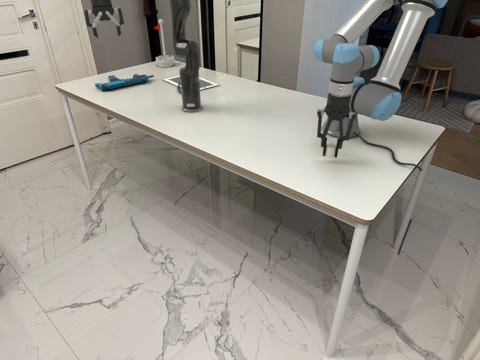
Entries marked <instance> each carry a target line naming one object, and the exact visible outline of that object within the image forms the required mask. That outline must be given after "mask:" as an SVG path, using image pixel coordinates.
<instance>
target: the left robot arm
mask: <svg viewBox="0 0 480 360" xmlns="http://www.w3.org/2000/svg"><path fill="white" fill-rule="evenodd" d="M168 3H169V11H170V18H171V28H172V29H171V30H172V48H173V54H174V57H176V58H177V59H178V60H183V61H185V66H182V67H180V68H179V71H178V72H179V76H180V82H179V84H178V86H177V91H178V93H179V94H180V95H181V102H182V110H183V111H184V112H188V113H195V112H199V111H201V110H202V99H201V90H200V82H199V77H200V68H201V54H200V53H201V52H200V46H199V43H198V41H196V40H195V39H190V38H187V35H186V23H187V21H188V19H189V15H190V12H191V8H192V0H168ZM90 4H91V9H87V8H84V9H83V12H84V18H85V24H86V26H87V27H90V28H91V29H92V34H93V36H94V37H95V38H96V39H99V34H98V30H97V25H98V23H99V21H100V22H103V21H106V22H107V21H109V22H110V21H112V22H113V23H114V24H115V30H116V35H117V37H120V36H121V35H122V30H121V29H122V28H121V25H124V24H125V21H124V20H125V19H124V16H123V15H124V14H123V11H122V9H121V7H119V6H118V7H115V8H114V7H113V2H112V0H90ZM115 13H116V14H117V15H118V18H119V21H118V20H117V19H116V18H115V17H114V16H113V15H114V14H115ZM92 14H93V16H94V19H93V20H92V22H91V21H90V16H91V15H92ZM180 84H181V88H180V87H179V86H180Z"/></svg>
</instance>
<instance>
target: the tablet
mask: <svg viewBox="0 0 480 360" xmlns="http://www.w3.org/2000/svg"><path fill="white" fill-rule="evenodd" d="M162 80H163V81H165V82H166V83H169V84H171V85H173V86H175V87H178V84H179V82H180V75H176V76H172V77H167V78H163V79H162ZM199 82H200V91H204V90H206V89H210V88H214V87H218V86H220V84H219V83H216V82H214V81H210V80H209V79H205V78H202V77H200V76H199ZM179 89H181V84H180V86H179Z"/></svg>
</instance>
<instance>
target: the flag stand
mask: <svg viewBox="0 0 480 360" xmlns="http://www.w3.org/2000/svg"><path fill="white" fill-rule="evenodd" d="M163 24H164V20H163V19H162V18H160V19H158V25H155V26H154V27H153V28H154V29H155V30H157V31H159V32H160V35H161V44H162V51H163V52H162V53H163V55H159V56H156V57H155V62H156V63H157V66H158V67H160V68H170V67H174V66H175V63H174V62H175V61H176V60H175V55H169V54H167V52H166V43H165V35H164V27H163Z"/></svg>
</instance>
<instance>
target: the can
mask: <svg viewBox="0 0 480 360" xmlns="http://www.w3.org/2000/svg"><path fill="white" fill-rule="evenodd" d="M336 145H337V144H335V143H327V144H326V150H325V156H324V157H325V158H327V159H333V158H335V152H336Z"/></svg>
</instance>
